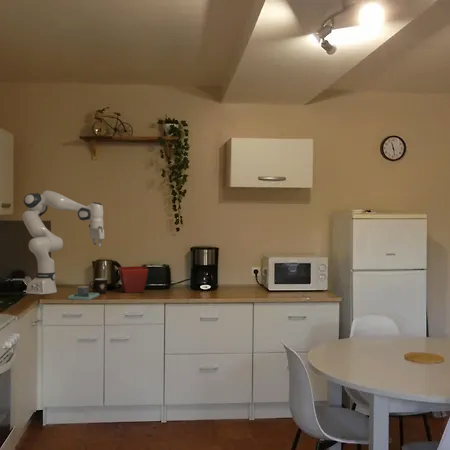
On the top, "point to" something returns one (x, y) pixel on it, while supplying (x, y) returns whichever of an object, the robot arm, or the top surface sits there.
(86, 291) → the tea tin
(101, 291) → the coffee mug
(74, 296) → the tray
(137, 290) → the plant pot
